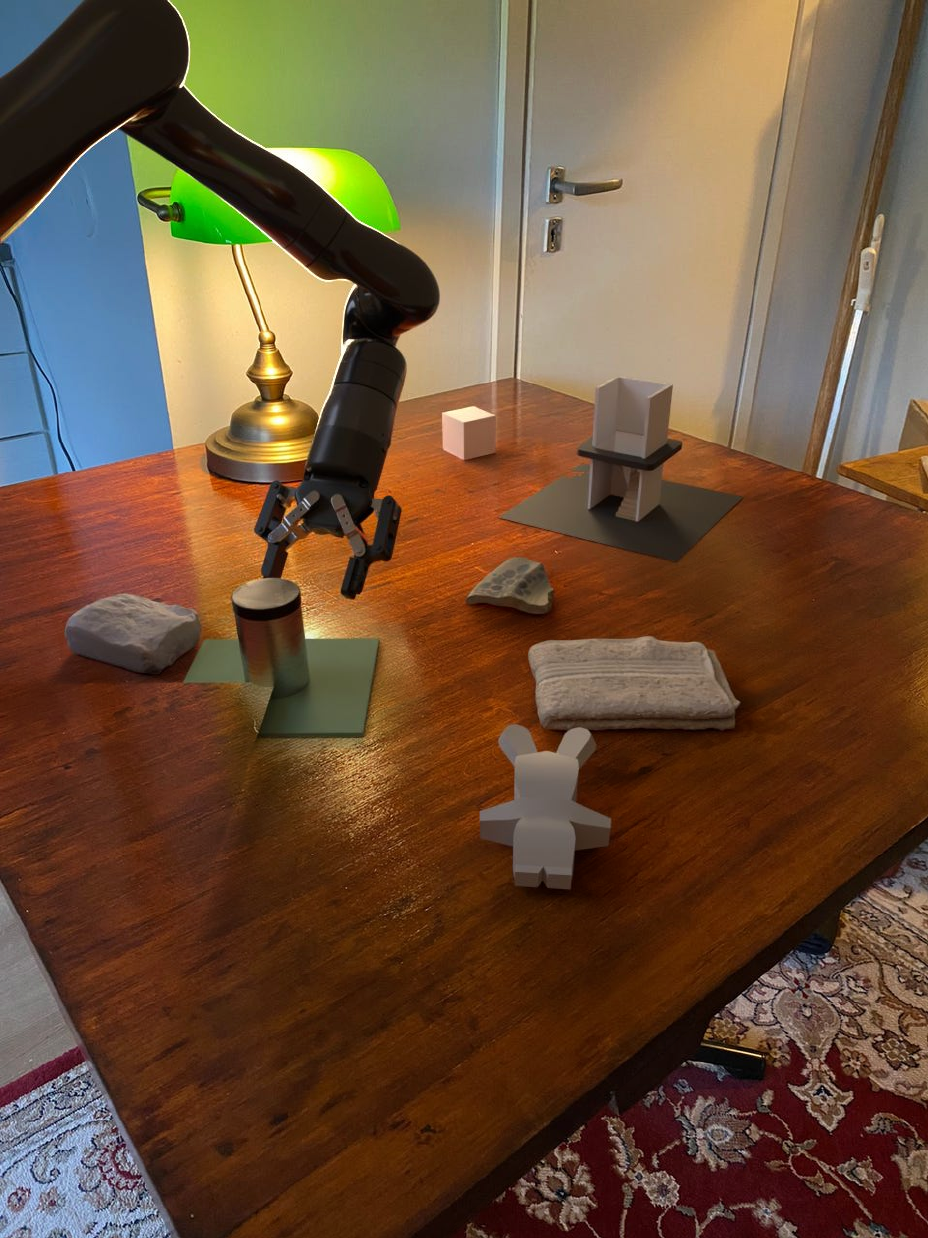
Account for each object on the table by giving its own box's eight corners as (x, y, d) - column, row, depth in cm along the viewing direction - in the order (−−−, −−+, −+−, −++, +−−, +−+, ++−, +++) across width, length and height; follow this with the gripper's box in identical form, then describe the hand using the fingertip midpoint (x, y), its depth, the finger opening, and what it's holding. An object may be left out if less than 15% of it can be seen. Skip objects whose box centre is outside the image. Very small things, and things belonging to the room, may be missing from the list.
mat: (158, 738, 79) (157, 733, 79) (204, 643, 93) (204, 639, 93) (363, 737, 79) (363, 732, 79) (379, 642, 93) (379, 637, 93)
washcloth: (743, 733, 79) (748, 704, 77) (538, 737, 79) (539, 708, 77) (708, 660, 89) (712, 633, 88) (526, 664, 89) (527, 637, 88)
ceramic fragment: (543, 613, 94) (460, 580, 98) (538, 637, 96) (457, 604, 100) (584, 571, 102) (506, 542, 106) (579, 594, 104) (503, 565, 108)
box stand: (497, 517, 120) (498, 394, 112) (581, 463, 138) (588, 354, 130) (676, 561, 108) (691, 428, 100) (743, 496, 126) (761, 378, 118)
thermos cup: (238, 700, 83) (223, 609, 79) (252, 664, 89) (239, 577, 84) (304, 699, 83) (293, 609, 79) (314, 663, 89) (305, 577, 84)
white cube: (464, 460, 140) (463, 422, 137) (442, 449, 144) (441, 412, 141) (495, 452, 143) (495, 415, 140) (473, 442, 147) (473, 405, 144)
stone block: (130, 626, 100) (57, 654, 91) (129, 585, 98) (55, 609, 89) (217, 653, 95) (149, 685, 87) (218, 611, 94) (148, 639, 85)
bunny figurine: (473, 853, 61) (489, 704, 73) (474, 900, 64) (489, 750, 76) (615, 862, 60) (608, 710, 72) (609, 909, 63) (603, 756, 75)
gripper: (274, 415, 91) (226, 567, 87) (404, 429, 86) (360, 589, 83) (305, 449, 98) (262, 591, 94) (427, 464, 93) (387, 613, 90)
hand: (308, 590), depth 89 cm, fingers open, 8 cm apart
